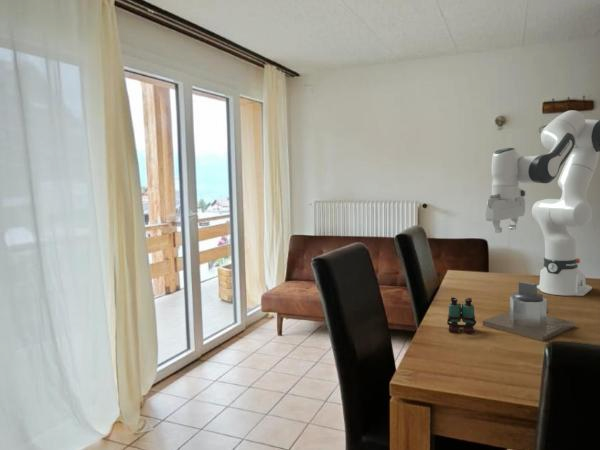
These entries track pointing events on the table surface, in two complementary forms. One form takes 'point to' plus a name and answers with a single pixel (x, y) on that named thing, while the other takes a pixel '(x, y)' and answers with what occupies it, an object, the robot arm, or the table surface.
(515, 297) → the grey dial knob
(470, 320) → the binoculars
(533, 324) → the square base plate
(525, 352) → the table surface
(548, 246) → the robot arm
